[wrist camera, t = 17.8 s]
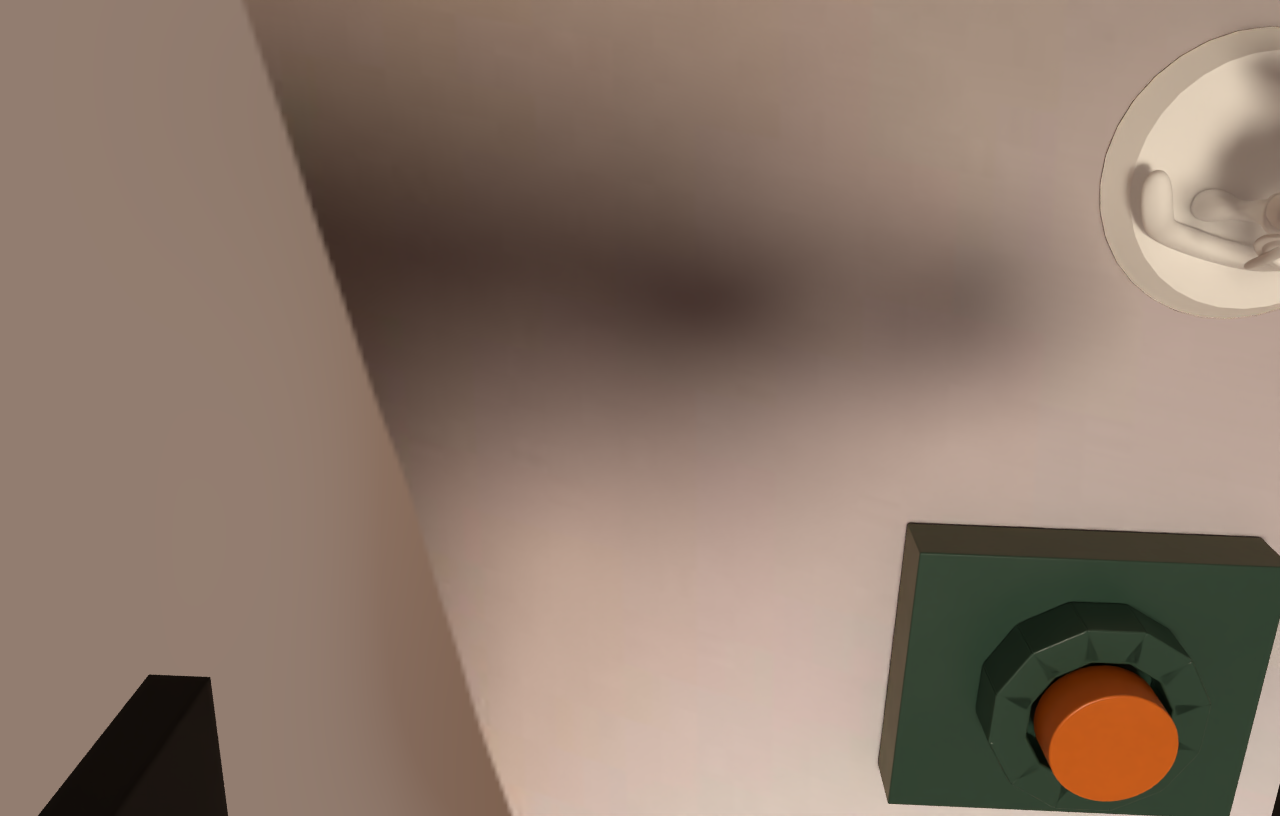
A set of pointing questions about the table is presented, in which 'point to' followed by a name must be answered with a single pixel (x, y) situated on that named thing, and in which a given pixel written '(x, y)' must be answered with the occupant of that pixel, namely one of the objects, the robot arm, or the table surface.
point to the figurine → (1202, 180)
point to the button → (1105, 733)
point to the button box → (1071, 658)
